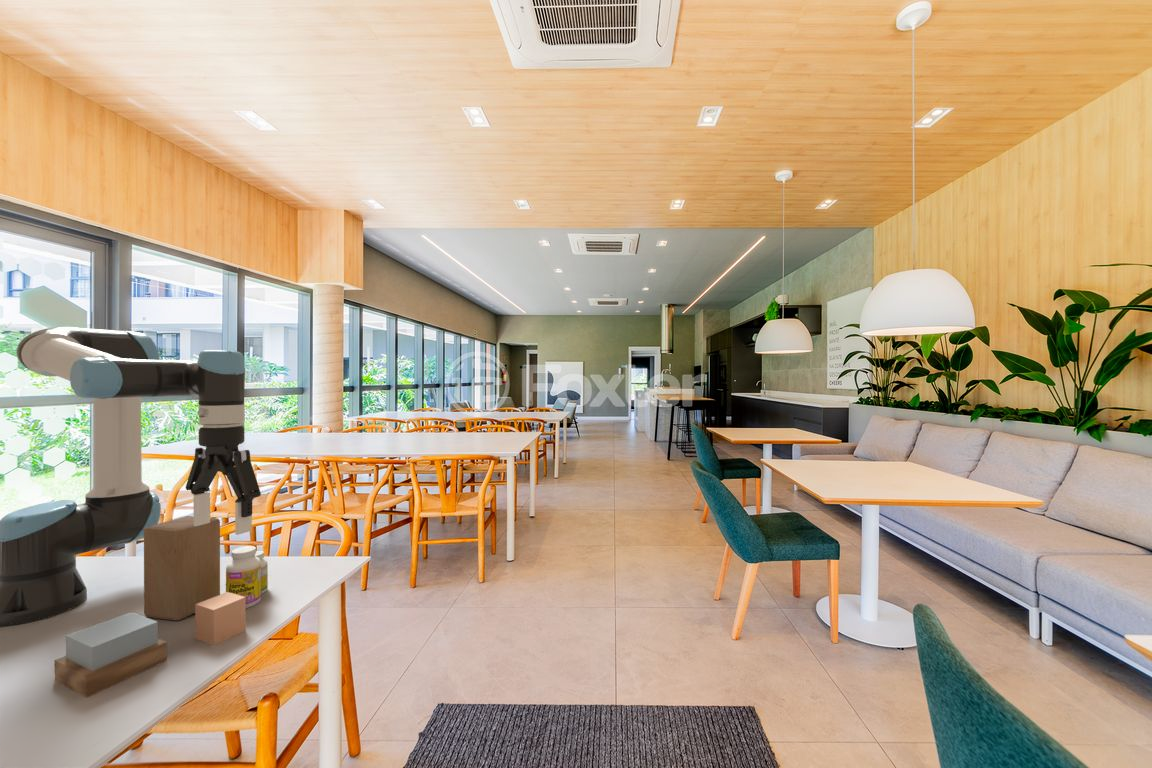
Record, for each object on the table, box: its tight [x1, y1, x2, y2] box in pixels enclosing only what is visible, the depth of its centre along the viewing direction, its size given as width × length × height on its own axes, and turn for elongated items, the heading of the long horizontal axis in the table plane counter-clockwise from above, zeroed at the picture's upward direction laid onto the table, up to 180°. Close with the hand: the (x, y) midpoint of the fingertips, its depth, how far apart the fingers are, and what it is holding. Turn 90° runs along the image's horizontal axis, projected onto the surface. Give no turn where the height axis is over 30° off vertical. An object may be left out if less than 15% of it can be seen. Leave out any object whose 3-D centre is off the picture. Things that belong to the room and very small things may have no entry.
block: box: [143, 515, 221, 621], centre depth 106 cm, size 10×10×20 cm
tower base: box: [54, 638, 168, 699], centre depth 84 cm, size 11×11×4 cm
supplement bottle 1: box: [225, 545, 262, 609], centre depth 108 cm, size 7×7×13 cm
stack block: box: [194, 591, 246, 646], centre depth 96 cm, size 6×6×7 cm
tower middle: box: [65, 611, 159, 671], centre depth 84 cm, size 9×9×4 cm
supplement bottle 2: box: [255, 550, 269, 595], centre depth 115 cm, size 5×5×10 cm
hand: (222, 528), depth 96 cm, fingers open, 13 cm apart
